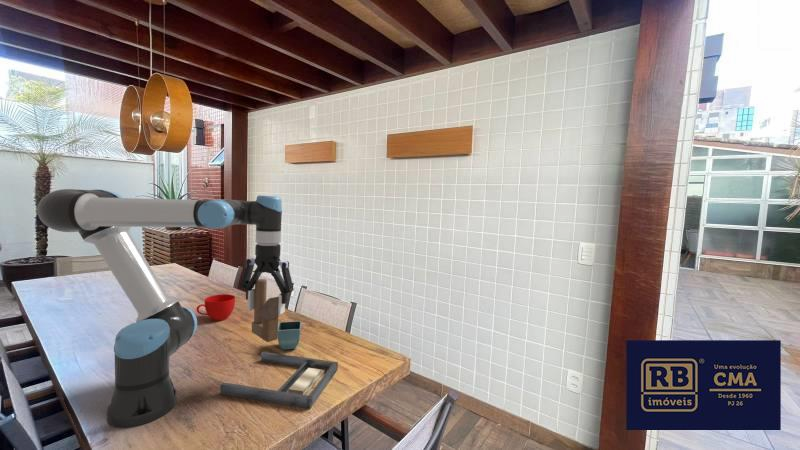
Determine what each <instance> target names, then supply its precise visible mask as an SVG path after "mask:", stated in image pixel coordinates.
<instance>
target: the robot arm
mask: <svg viewBox="0 0 800 450" xmlns="http://www.w3.org/2000/svg"><path fill="white" fill-rule="evenodd" d="M282 204H283V203H282V198H281V197H280V196H276V195H257V196H256V199H255V200H238V199H227V198H225V199H209V200H208V199H176V198H175V199H173V198H172V199H171V198H139V197H138V198H135V197H133V198H132V197H131V198H129V197H123V196H122V195H120V194H118V193H116V192H113V191H109V190H103V189H73V188H65V189H62V188H61V189H57V190H54V191H51V192H49V193H47V194H45V195H44V196H43V197H42V198H41V199H40V200H39V202H38V204H37V207H36V210H37V211H36V212H37V216H38V218H39V220H40V221H41V222H42V224H43V225H45V226H46V227H48V228H50V229H52V230H55V231H57V232H63V233H77V232H78V234H79V235H80V236H81V239H82V240H83V241H84V243H85V242H86V243H89V244H93V245H94V246H95V248H96V249H97V251H98V253H99V254H100V255H101V257H102V259H103V260H104V262H105V263H106V265H107V267H108V268H109V270H110V271H111V274H112V275H113V276H114V278H115V279H116V281H117V282H118V284H119V286H120V287H121V289H122V290H123V292H124V294H125V295H126V297H127V298H128V300H129V301H130V303H131V305H132V306H133V308H134V309H135V311H136V312H137V317H136V319H135V322H132V323H130V324H128V325H126V326H124V327H122V328H121V329H120V330H119V331H118V333H117V334H116V336H115V338H114V346H113V352H114V386H115V387H114V391H113V394H112V396H111V401H110V404H109V405H108V407H107V409H106V422H107V424H108V425H110V426H111V427H114V428H130V427H136V426H141V425H144V424H147V423H149V422H152V421H155V420H157V419H159V418H161V417H162V416H164V415H166V414H168V413H169V412H170V411H171V410H172V409H173V408H174V407H175V405H176V404H177V397H178V396H177V395H178V394H177V390H176V388H175V387H174V386H175V385H174V383H173V381H172V379H171V377H170V357H171V356H172V355H174V353H176V352H177V351H178V350H179V349H180V348H181V347H183V346H184V345H185V344H186V343H187V344H188V342H189V341H190V340H191V338H192V337H193V336H194V334H195V333H196V331H197V327H198V319H197V316H196V314H195V313H194V311H193V310H192V309H190V308H189V307H185V306H182V305H181V303H180V302H179V300H177V299H175V298H171V297H169V295H168V294H167V292H166V290H165V289H164V287H163V285H162V283H161V281H160V280H159V278H158V277H157V275H156V273H155V272H154V270H153V269H152V267H151V265H150V264H149V262H148V261H147V259H146V258H145V255H144V254H143V252H142V251H141V249H140V248H139V246H138V244H137V243H136V241H135V239H134V237H133V236H132V234H131V232H130V230H131V228H133V227H135V228H137V227H138V228H140V227H141V228H142V227H143V228H145V227H148V228H149V227H151V228H208V229H213V230H214V229H215V230H218V229H219V230H220V229H221V230H222V229H224V228H227V227H230V226H235V225H251V226H254V225H255V241H254V242H255V243H256V244H255V248H254V249H255V250H254V255H255V258H253V257H250V258H247V259H246V260H245V264H246V266H245V270H244V273H243V276H242V279H241V282H240V285H239V286H240V288H241V289H245V299H246V300H247V311H249V312H251V311H252V310H254V304H255V282H256V281H257V280H258V279H260V277H261V275H262V273H268V274H270V275H271V276H272V277H273V279H274V281H275V283H276V285H277V287H278V289H279V291H280V293H279V294H278V297H279V306H278V315H282V314H283V313H285V311H286V304H287V303H288V295H289V293H291V292H294V290H295V289H294V285H293V281H292V277H291V272H290V261H288V260H287V261H282V260H281V258H280V256H281V249H282V248H281V244H280V243H281V239H282V215H283V210H282V208H283V207H282ZM255 265H256V268H255ZM279 267H280V269H281V270H280V269H279ZM254 268H255V269H254ZM253 270H254V272H253ZM281 272H282V273H281Z"/></svg>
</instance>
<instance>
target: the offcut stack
mask: <svg viewBox="0 0 800 450" xmlns="http://www.w3.org/2000/svg"><path fill="white" fill-rule="evenodd" d="M324 375H325V370H321V369H314V368H308V369H307V370H306V371H305V372H304V373H303V374H302V375H301V376H300V377H299V378H298V380H297V381H296V382H295V383H294V384H293V385H292V386H291V387H290V388H289V390H288V393H294V394H300V395H307V396H308V394H309V393H311V391H312V390H313V389H314V388H315V386H316V385H317V384H318V383H319V381H320V380H321V379H322V378H323V376H324Z"/></svg>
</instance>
